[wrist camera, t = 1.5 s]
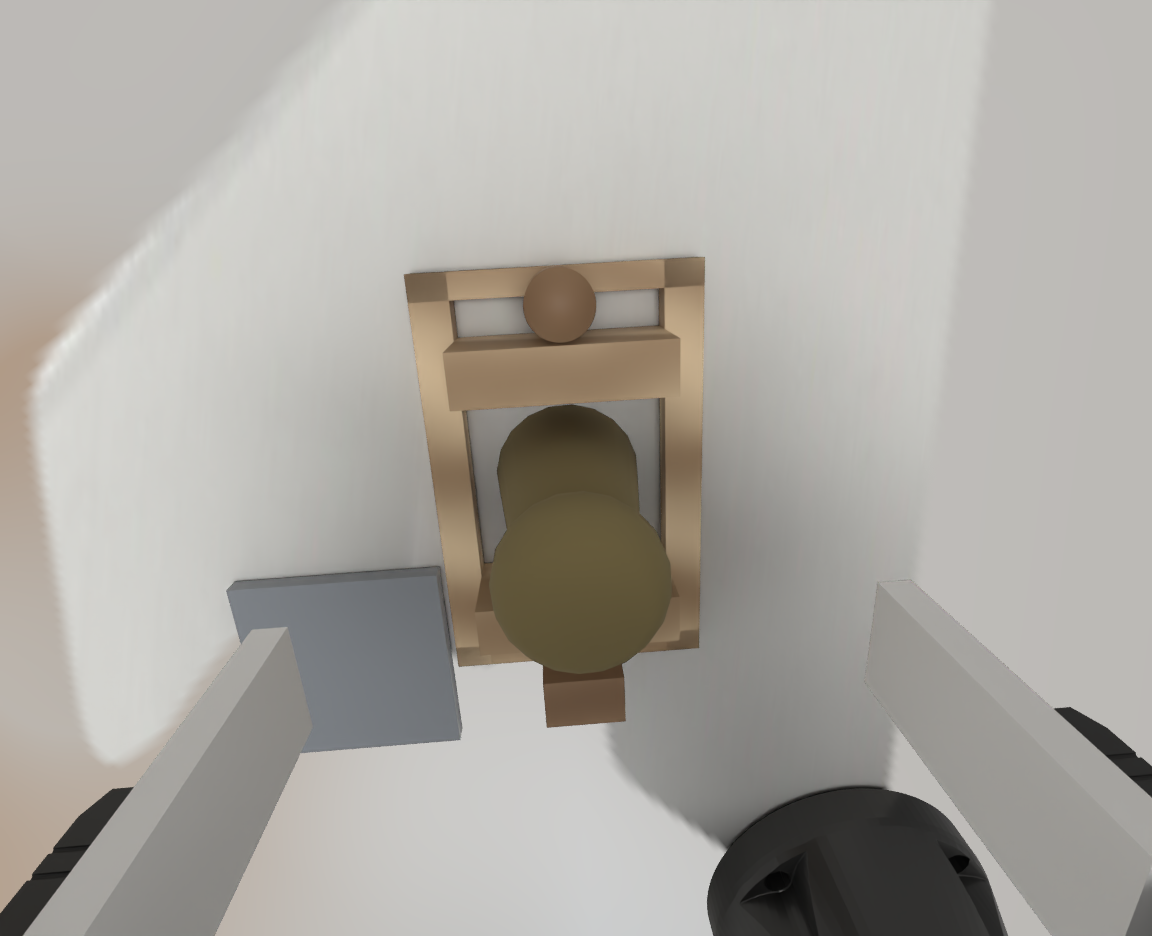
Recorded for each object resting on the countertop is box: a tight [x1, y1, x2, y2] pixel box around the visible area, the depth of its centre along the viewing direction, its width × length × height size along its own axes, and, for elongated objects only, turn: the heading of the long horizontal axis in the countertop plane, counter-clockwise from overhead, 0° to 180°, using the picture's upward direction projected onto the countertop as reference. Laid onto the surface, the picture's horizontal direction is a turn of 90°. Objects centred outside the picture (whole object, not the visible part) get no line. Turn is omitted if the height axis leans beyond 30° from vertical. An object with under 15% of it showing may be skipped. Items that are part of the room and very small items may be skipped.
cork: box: [489, 405, 672, 674], centre depth 21 cm, size 6×6×11 cm
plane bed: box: [404, 257, 705, 728], centre depth 24 cm, size 17×11×6 cm, turn 3°
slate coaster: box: [226, 567, 462, 753], centre depth 28 cm, size 9×9×1 cm
